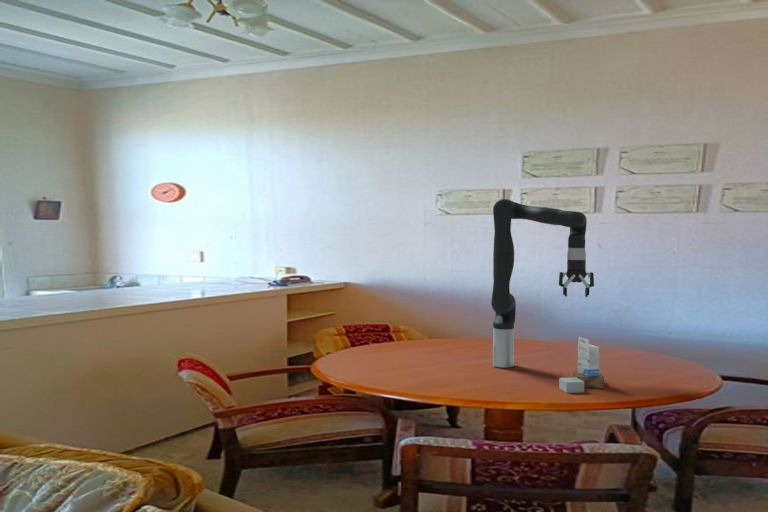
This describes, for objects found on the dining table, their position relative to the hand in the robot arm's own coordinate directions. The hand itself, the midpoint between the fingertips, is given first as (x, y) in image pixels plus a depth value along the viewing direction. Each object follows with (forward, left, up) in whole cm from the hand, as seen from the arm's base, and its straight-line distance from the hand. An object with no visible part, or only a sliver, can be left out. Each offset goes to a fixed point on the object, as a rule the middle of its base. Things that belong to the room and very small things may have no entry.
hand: (576, 296), depth 261 cm
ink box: (+2, -19, -29) cm, 35 cm away
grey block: (-6, -29, -33) cm, 44 cm away
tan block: (+2, -19, -33) cm, 38 cm away
